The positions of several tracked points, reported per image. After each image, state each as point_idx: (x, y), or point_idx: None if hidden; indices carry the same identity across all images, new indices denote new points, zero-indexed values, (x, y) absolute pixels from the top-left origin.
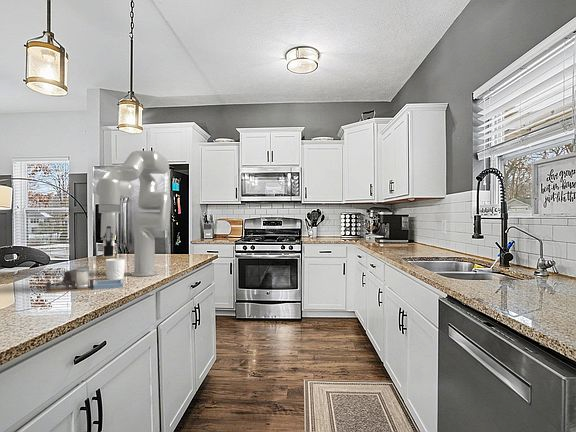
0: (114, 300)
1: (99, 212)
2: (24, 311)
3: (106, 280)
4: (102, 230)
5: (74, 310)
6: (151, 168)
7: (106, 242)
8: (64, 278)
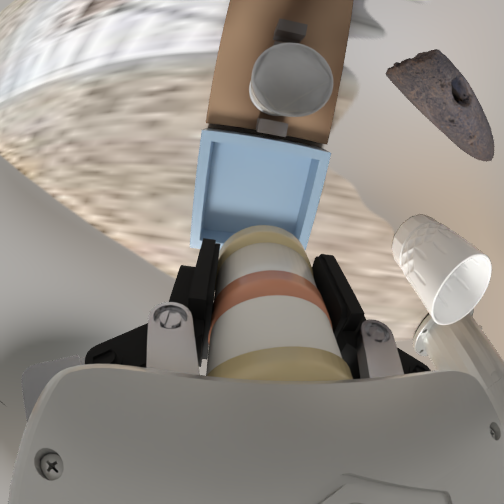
0: (62, 193)
1: None
2: None
3: (318, 199)
4: (18, 477)
5: (10, 103)
6: None
7: (105, 343)
8: (421, 53)
